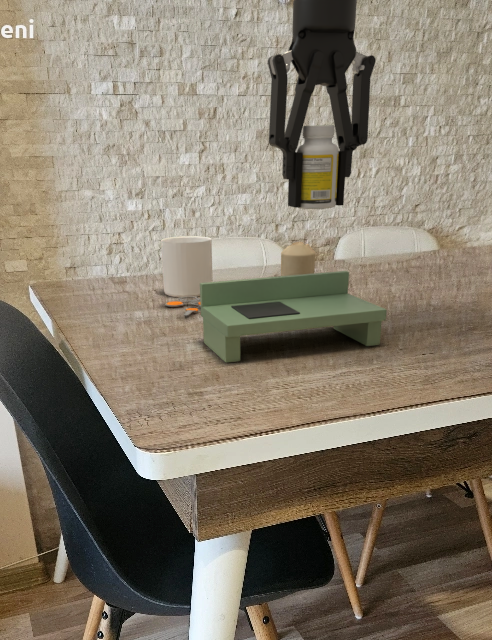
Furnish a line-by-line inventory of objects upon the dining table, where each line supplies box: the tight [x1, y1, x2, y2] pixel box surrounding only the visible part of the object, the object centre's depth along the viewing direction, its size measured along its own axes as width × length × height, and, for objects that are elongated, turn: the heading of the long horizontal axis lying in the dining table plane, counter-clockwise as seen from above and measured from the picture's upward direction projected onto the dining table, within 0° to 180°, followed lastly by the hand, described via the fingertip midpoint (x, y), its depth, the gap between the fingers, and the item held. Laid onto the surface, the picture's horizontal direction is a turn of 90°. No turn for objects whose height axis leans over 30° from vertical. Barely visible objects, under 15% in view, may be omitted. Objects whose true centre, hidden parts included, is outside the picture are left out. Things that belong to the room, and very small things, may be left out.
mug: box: [160, 235, 214, 298], centre depth 122 cm, size 12×9×9 cm
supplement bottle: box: [296, 124, 340, 210], centre depth 87 cm, size 5×5×10 cm
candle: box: [280, 241, 316, 276], centre depth 110 cm, size 6×6×10 cm
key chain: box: [164, 296, 201, 317], centre depth 111 cm, size 13×7×1 cm, turn 21°
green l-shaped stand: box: [199, 270, 388, 364], centre depth 90 cm, size 12×22×8 cm, turn 108°
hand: (315, 205), depth 89 cm, fingers closed on supplement bottle, 5 cm apart
